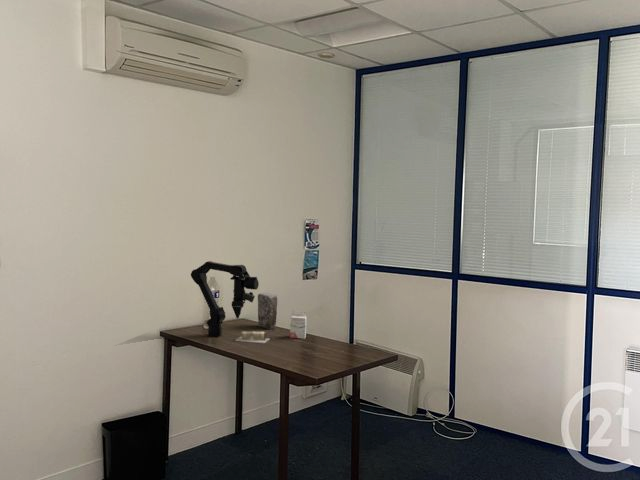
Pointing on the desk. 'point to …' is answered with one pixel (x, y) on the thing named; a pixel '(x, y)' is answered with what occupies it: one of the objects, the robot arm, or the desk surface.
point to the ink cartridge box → (298, 324)
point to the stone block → (267, 310)
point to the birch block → (253, 335)
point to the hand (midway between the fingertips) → (238, 316)
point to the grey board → (253, 340)
